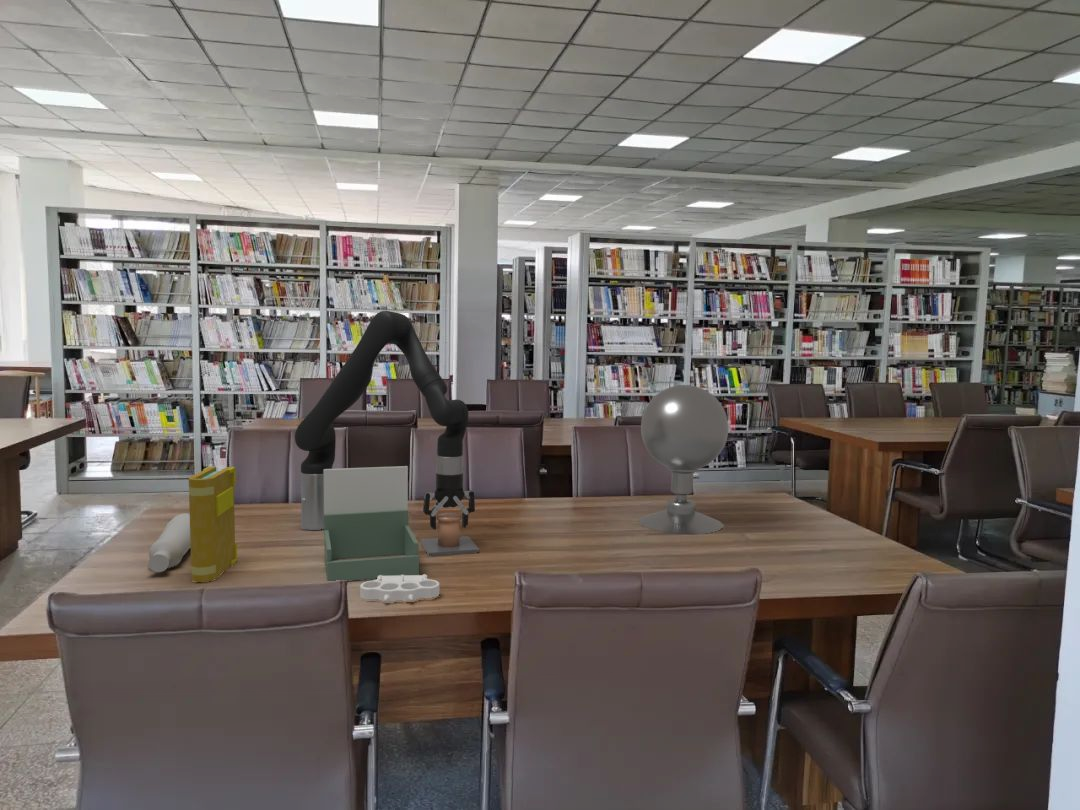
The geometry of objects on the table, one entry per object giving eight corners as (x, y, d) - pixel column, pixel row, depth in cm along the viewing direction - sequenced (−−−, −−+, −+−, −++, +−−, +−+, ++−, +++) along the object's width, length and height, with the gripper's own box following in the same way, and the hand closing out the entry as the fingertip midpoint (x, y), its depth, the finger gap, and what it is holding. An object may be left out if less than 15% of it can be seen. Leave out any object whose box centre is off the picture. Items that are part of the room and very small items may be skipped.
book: (210, 561, 195) (208, 466, 193) (237, 561, 196) (235, 466, 193) (185, 583, 178) (182, 479, 176) (214, 582, 179) (212, 479, 176)
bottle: (162, 532, 209) (130, 569, 180) (180, 505, 210) (151, 538, 181) (191, 548, 212) (165, 587, 183) (210, 522, 212) (186, 556, 183)
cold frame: (327, 583, 180) (326, 485, 178) (324, 557, 200) (323, 469, 197) (418, 575, 187) (419, 480, 185) (407, 551, 207) (407, 466, 204)
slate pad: (428, 556, 203) (428, 553, 203) (420, 542, 216) (420, 539, 216) (479, 552, 207) (479, 549, 207) (468, 539, 220) (468, 535, 220)
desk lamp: (628, 527, 236) (632, 385, 232) (649, 509, 262) (653, 380, 257) (716, 538, 226) (723, 390, 222) (729, 518, 252) (735, 384, 247)
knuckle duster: (440, 584, 182) (438, 606, 167) (365, 586, 180) (356, 608, 166) (440, 571, 182) (438, 592, 167) (364, 572, 180) (356, 593, 165)
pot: (439, 548, 207) (439, 519, 206) (435, 541, 213) (435, 513, 212) (462, 546, 209) (462, 517, 208) (457, 540, 215) (457, 512, 215)
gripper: (471, 467, 215) (470, 523, 217) (422, 469, 211) (421, 525, 212) (477, 472, 208) (476, 530, 209) (426, 474, 203) (425, 532, 205)
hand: (448, 527), depth 211 cm, fingers open, 8 cm apart
